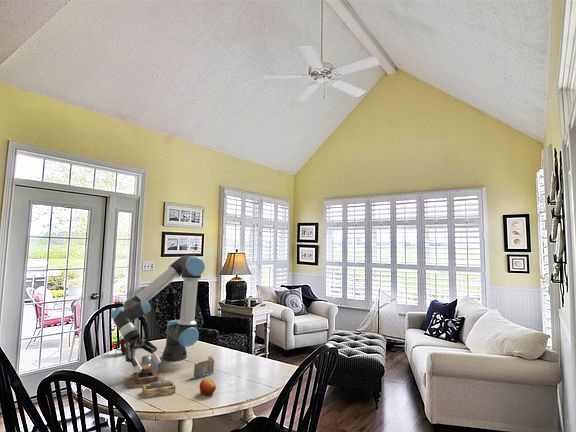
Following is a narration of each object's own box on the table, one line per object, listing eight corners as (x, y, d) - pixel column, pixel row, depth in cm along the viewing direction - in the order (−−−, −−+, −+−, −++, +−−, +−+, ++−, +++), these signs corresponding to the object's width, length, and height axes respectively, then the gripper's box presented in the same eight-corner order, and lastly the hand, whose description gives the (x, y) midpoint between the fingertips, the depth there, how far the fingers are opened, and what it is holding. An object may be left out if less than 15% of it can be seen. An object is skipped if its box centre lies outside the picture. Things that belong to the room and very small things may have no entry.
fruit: (196, 387, 175) (206, 373, 176) (210, 396, 175) (219, 381, 176) (193, 393, 167) (203, 379, 168) (207, 403, 167) (217, 388, 168)
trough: (172, 387, 177) (172, 377, 177) (175, 393, 170) (175, 381, 171) (142, 392, 170) (143, 380, 170) (144, 397, 164) (144, 386, 164)
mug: (117, 356, 221) (118, 340, 222) (113, 353, 227) (114, 337, 228) (134, 354, 228) (136, 338, 229) (130, 351, 234) (131, 335, 235)
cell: (149, 377, 186) (150, 354, 188) (150, 379, 182) (152, 356, 184) (139, 378, 184) (141, 355, 186) (140, 381, 180) (142, 357, 182)
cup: (155, 368, 203) (156, 356, 203) (157, 372, 197) (158, 359, 198) (144, 370, 200) (145, 357, 200) (146, 373, 194) (147, 360, 195)
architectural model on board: (209, 373, 201) (211, 355, 202) (213, 374, 199) (214, 356, 200) (193, 377, 193) (194, 359, 194) (196, 379, 191) (197, 360, 192)
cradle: (160, 374, 193) (161, 368, 194) (165, 383, 181) (166, 376, 182) (124, 379, 185) (125, 372, 185) (127, 389, 173) (127, 381, 173)
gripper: (142, 333, 202) (161, 364, 195) (106, 343, 179) (126, 379, 172) (151, 324, 201) (170, 356, 194) (115, 333, 178) (136, 369, 171)
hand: (149, 367), depth 183 cm, fingers open, 13 cm apart
